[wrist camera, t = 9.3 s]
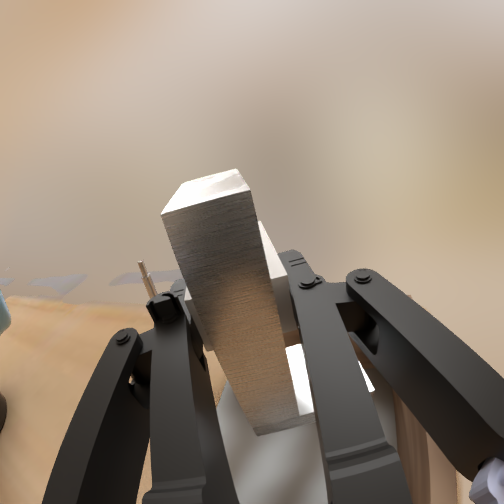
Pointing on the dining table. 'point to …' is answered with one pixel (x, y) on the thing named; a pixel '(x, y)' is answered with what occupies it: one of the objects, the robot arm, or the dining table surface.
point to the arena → (309, 454)
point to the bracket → (238, 299)
